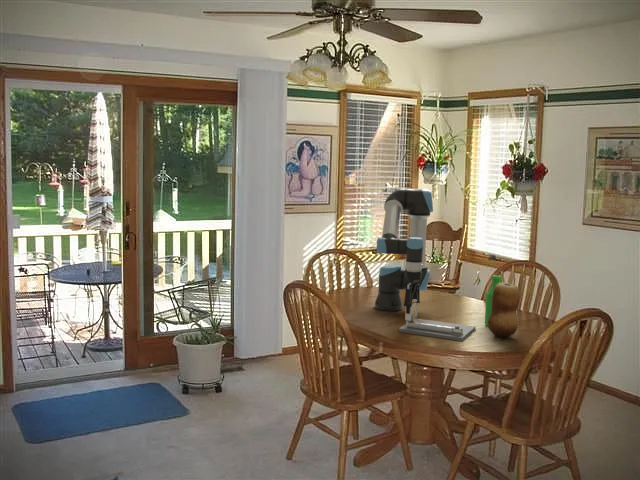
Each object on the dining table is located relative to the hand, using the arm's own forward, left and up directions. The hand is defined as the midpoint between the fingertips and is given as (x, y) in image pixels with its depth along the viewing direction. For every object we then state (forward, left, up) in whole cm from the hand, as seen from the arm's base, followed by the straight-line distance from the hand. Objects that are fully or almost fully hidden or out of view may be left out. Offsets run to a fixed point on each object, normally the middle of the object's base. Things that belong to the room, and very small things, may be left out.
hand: (411, 318), depth 320 cm
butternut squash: (+40, +12, -6) cm, 42 cm away
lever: (+11, 0, -4) cm, 12 cm away
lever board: (+11, +7, -6) cm, 14 cm away
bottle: (+32, +32, -6) cm, 46 cm away
